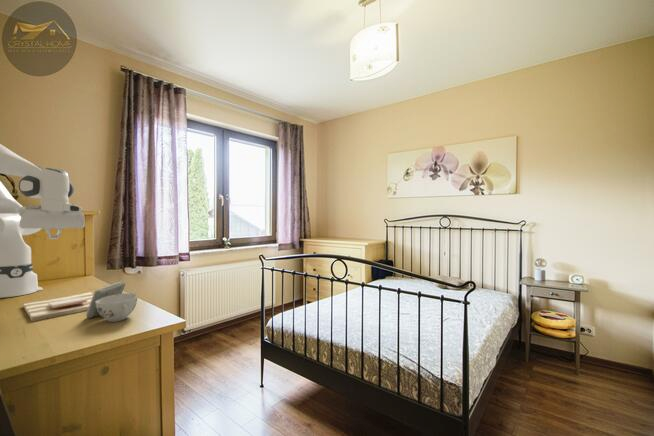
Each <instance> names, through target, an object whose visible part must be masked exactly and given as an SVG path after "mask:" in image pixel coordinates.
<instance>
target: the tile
mask: <svg viewBox="0 0 654 436" xmlns="http://www.w3.org/2000/svg"><path fill="white" fill-rule="evenodd" d="M84 302H87V299H85V298H82V297H79V298H73V299H68V300H62V301H56V302H51V303H49V306H50V307H52V308H58V307H63V306H68V305H74V304H79V303H84Z"/></svg>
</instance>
